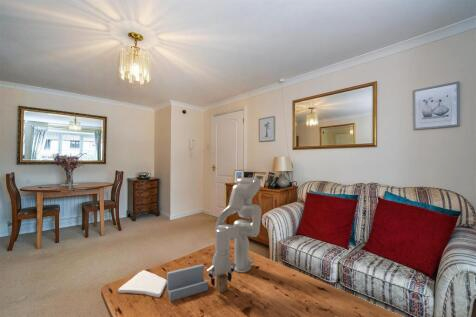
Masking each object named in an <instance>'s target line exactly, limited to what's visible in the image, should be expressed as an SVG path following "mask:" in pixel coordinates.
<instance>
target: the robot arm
mask: <svg viewBox="0 0 476 317" xmlns="http://www.w3.org/2000/svg"><path fill="white" fill-rule="evenodd" d="M235 183H236V184H234V185H233V186H232V188H231V192H230V196H229V201H228V204H227V207H225V208H224V209H223V210H222V211H221V212H220V213H219V215H218V216H217V219H216V223H215V226H214V227H215V228H214V234H215V238H214V239H215V241H214V242H215V244H214V245H215V246H214V247H215V248H214V253H213V256H212V261H211V266H210V267H209V268H208V269H206V273H207V275H208V276H209V277H210V284H211V285H212V287H215V286H216V278H215V277H216V275H217V274H222V273H225V274H226V273H227V276H228V283H231V282H232V275H233V272H234V271H235V272H236V273H247V272H249V271H250V270H251V269H252V266H251V264H255V262H256V260H255V259H251V258H249V254H250V252H249V251H250V250H249V248H250V245H249V244H250V241H249V238H248V237H253V238H257V237H258V236H259V234H260V230H261V228H260V227H261V219H262V208H261V206H260V205H259V204H253V198H255V196H256V194H257V193H258V192H259V191H260V189H261V185H262V183H261V180H260V179H259V178H257V177H239V178H237V179H236V182H235ZM235 213H237V215H238V217H239V218H244V219H237V220H235V221H234V222H233V224H227V223H224V222H225V220H226V219H227V217H229V216H231V215H233V214H235ZM248 219H249V220H248ZM231 240H234V256H233V257H234V258H233V259H234V261H233V262H232V259H231V252H230V251H231V250H232V249H231V248H232V247H230V241H231Z"/></svg>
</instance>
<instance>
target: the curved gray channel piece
mask: <svg viewBox="0 0 476 317" xmlns="http://www.w3.org/2000/svg"><path fill="white" fill-rule="evenodd" d="M204 266H205V265H204V264H198V265H192V266H189V267H188V266H187V267H183V268H179V269H176V270H171V271H168V272H166V277H167V278H166V280H167V284H166V292H167V295H168V299H169V301H170V302H172V301H176V300H179V299H183V298H186V297H189V296H193V295H196V294H199V293H202V292H206V291H207V292H208V290H209V281H208V280H205V278H204V275H205V274H204V270H205V268H204Z"/></svg>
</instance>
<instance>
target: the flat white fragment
mask: <svg viewBox="0 0 476 317" xmlns="http://www.w3.org/2000/svg"><path fill="white" fill-rule="evenodd" d="M165 287H167V278H166V279H165V278H164V277H162V276H159V275H157V274H155V273H153V272H150V271H147V270H146V269H143V270H141V271H139V272H137V273H136V274H135V275H134V276H133V277H132V278H131V279H129V280H128V281H126V282H125V283H124V284H123V285H121V286H120V287H119V288H118V289H117V292H118V293H119V294H127V293H128V294H138V295H139V294H141V295H147V296H151V297H155V298H160V297H161V296H162V295H163V293H164V289H165Z"/></svg>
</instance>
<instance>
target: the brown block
mask: <svg viewBox="0 0 476 317" xmlns="http://www.w3.org/2000/svg"><path fill="white" fill-rule="evenodd" d="M215 277H216V278H215V286H216V287H215V288H216V290H217V292H218V293H219V294H221V293H225V292H228V283H229V281H228V274H226V273H222V274H217V275H216V276H215Z"/></svg>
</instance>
